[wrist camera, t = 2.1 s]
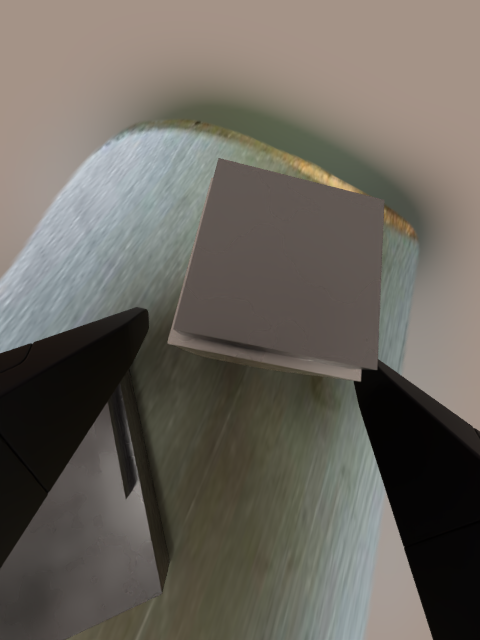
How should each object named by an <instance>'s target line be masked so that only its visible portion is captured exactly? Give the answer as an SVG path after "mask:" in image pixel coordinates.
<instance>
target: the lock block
mask: <svg viewBox="0 0 480 640" xmlns="http://www.w3.org/2000/svg"><path fill="white" fill-rule="evenodd" d="M383 219H384V200H382V199H378V198H374V197H370V196H366V195H362V194H359V193H355V192H351V191H347V190H343V189H339V188H335V187H331V186H327V185H323V184H319V183H315V182H311V181H307V180H303V179H299V178H295V177H291V176H288V175H284V174H280V173H276V172H272V171H268V170H264V169H260V168H256V167H252V166H248V165H244V164H240V163H236V162H232V161H228V160H224V159H220V158H219V159H218V162H217V166H216V170H215V174H214V177H213V178H211V182H210V186H209V189H208V193H207V197H206V201H205V204H204V208H203V212H202V216H201V219H200V223H199V227H198V230H197V234H196V238H195V242H194V245H193V249H192V253H191V257H190V260H189V264H188V268H187V272H186V275H185V279H184V283H183V286H182V290H181V294H180V298H179V301H178V305H177V309H176V313H175V316H174V320H173V324H172V327H171V331H170V335H169V339H168V342H167V343H168V344H170V345H173V346H175V347H178V348H180V349H183V350H186V351H188V352H191V353H193V354H196V355H198V356H201V357H205V358H211V359H216V360H221V361H226V362H231V363H236V364H241V365H246V366H251V367H257V368H262V369H267V370H275V371H282V372H290V373H298V374H306V375H313V376H321V377H329V378H337V379H344V380H352V381H360V382H361V370H377V364H378V340H379V316H380V292H381V267H382V243H383Z"/></svg>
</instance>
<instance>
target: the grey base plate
mask: <svg viewBox="0 0 480 640" xmlns="http://www.w3.org/2000/svg"><path fill="white" fill-rule="evenodd" d="M169 563H170V561H169V557H168V552H167V547H166V542H165V538H164V533H163V528H162V523H161V518H160V514H159V509H158V504H157V499H156V495H155V490H154V485H153V480H152V475H151V471H150V466H149V461H148V456H147V452H146V447H145V442H144V437H143V432H142V428H141V423H140V418H139V413H138V409H137V404H136V399H135V394H134V389H133V385H132V380H131V375H130V370H129V369H128V371H127V372H126V374H125V376H124V377H123V379H122V380H121V382H120V383H119V385H118V386H117V388H116V390H115V391H114V393H113V394H112V396H111V397H110V399H109V400H108V402H107V404H106V405H105V407H104V408H103V410H102V411H101V413H100V414H99V416H98V418H97V419H96V421H95V422H94V424H93V425H92V427H91V428H90V430H89V432H88V433H87V435H86V436H85V438H84V439H83V441H82V442H81V444H80V445H79V447H78V449H77V450H76V452H75V453H74V455H73V456H72V458H71V459H70V461H69V463H68V464H67V466H66V467H65V469H64V470H63V472H62V473H61V475H60V477H59V478H58V480H57V481H56V483H55V484H54V486H53V487H52V489H51V491H50V492H49V493H48V496H47V497H46V499H45V500H44V502H43V503H42V505H41V506H40V508H39V510H38V511H37V513H36V514H35V516H34V517H33V519H32V520H31V522H30V524H29V525H28V527H27V528H26V530H25V531H24V533H23V534H22V536H21V538H20V539H19V541H18V542H17V544H16V545H15V547H14V548H13V550H12V552H11V553H10V555H9V556H8V558H7V559H6V561H5V562H4V564H3V566H2V567H1V569H0V640H65V639H67V638H69V637H71V636H73V635H76V634H78V633H80V632H82V631H84V630H86V629H88V628H90V627H93V626H95V625H97V624H99V623H101V622H103V621H105V620H107V619H110V618H112V617H114V616H116V615H118V614H120V613H122V612H125V611H127V610H129V609H131V608H133V607H135V606H137V605H139V604H142V603H144V602H146V601H148V600H150V599H152V598H154V597H156V596H159V595H161V594H162V592H163V588H164V584H165V580H166V576H167V572H168V567H169Z"/></svg>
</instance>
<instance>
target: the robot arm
mask: <svg viewBox="0 0 480 640" xmlns="http://www.w3.org/2000/svg"><path fill="white" fill-rule="evenodd" d="M148 329H149V317H148V310H147V309H143V308H139V307H136V308H133V309H130V310H127V311H124V312H121V313H118V314H115V315H112V316H109V317H106V318H103V319H100V320H98V321H95V322H92V323H89V324H86V325H83V326H80V327H77V328H74V329H71V330H68V331H65V332H62V333H59V334H56V335H54V336H51V337H48V338H45V339H42V340H39V341H36V342H34V343H33V344H31V343H30V344H27V345H24V346H21V347H18V348H15V349H12V350H9V351H6V352H3V353H0V569H1V567H2V566H3V564H4V562H5V561H6V559H7V558H8V556H9V555H10V553H11V552H12V550H13V548H14V547H15V545H16V544H17V542H18V541H19V539H20V538H21V536H22V534H23V533H24V531H25V530H26V528H27V527H28V525H29V524H30V522H31V520H32V519H33V517H34V516H35V514H36V513H37V511H38V510H39V508H40V506H41V505H42V503H43V502H44V500H45V499H46V497H47V496H48V493H49V492H50V491H51V489H52V487H53V486H54V484H55V483H56V481H57V480H58V478H59V477H60V475H61V473H62V472H63V470H64V469H65V467H66V466H67V464H68V463H69V461H70V459H71V458H72V456H73V455H74V453H75V452H76V450H77V449H78V447H79V445H80V444H81V442H82V441H83V439H84V438H85V436H86V435H87V433H88V432H89V430H90V428H91V427H92V425H93V424H94V422H95V421H96V419H97V418H98V416H99V414H100V413H101V411H102V410H103V408H104V407H105V405H106V404H107V402H108V400H109V399H110V397H111V396H112V394H113V393H114V391H115V390H116V388H117V386H118V385H119V383H120V382H121V380H122V379H123V377H124V376H125V374H126V372H127V371H128V369H129V368H130V366H131V364H132V363H133V361H134V359H135V357H136V355H137V353H138V351H139V349H140V347H141V345H142V342H143V340H144V338H145V336H146V334H147V332H148ZM354 385H355V390H356V394H357V399H358V404H359V408H360V411H361V414H362V417H363V421H364V424H365V427H366V430H367V433H368V436H369V439H370V442H371V446H372V449H373V452H374V455H375V458H376V461H377V464H378V468H379V471H380V474H381V477H382V480H383V483H384V486H385V490H386V493H387V496H388V499H389V502H390V505H391V508H392V511H393V515H394V518H395V521H396V524H397V527H398V530H399V533H400V536H401V540H402V543H403V546H404V550H405V553H406V556H407V559H408V562H409V565H410V568H411V572H412V574H413V578H414V581H415V584H416V587H417V591H418V593H419V596H420V600H421V603H422V606H423V609H424V612H425V615H426V619H427V622H428V625H429V628H430V631H431V634H432V638H433V640H480V431H478V430H477V429H475V428H473V427H472V426H471V425H470V424H468V423H467V422H465V421H464V420H463V419H461V418H460V417H459V416H457V415H456V414H454V413H453V412H451V411H450V410H449V409H447V408H446V407H445V406H443V405H442V404H440V403H439V402H438V401H436V400H435V399H433V398H432V397H431V396H429V395H428V394H426V393H425V392H424V391H422V390H421V389H419V388H418V387H416V386H415V385H414V384H412V383H411V382H409V381H408V380H407V379H405V378H404V377H402V376H401V375H400V374H398V373H397V372H395V371H394V370H393V369H391V368H390V367H388V366H387V365H386V364H384V363H383V362H381V361H380V360H379V359H378V364H377V370H361V382H360V381H354Z"/></svg>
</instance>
